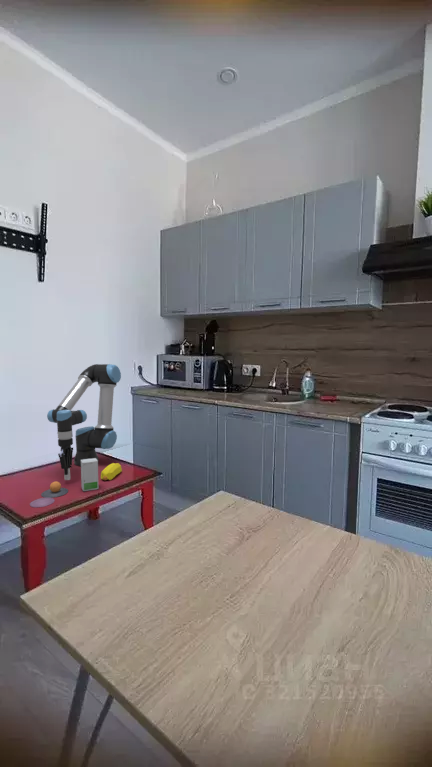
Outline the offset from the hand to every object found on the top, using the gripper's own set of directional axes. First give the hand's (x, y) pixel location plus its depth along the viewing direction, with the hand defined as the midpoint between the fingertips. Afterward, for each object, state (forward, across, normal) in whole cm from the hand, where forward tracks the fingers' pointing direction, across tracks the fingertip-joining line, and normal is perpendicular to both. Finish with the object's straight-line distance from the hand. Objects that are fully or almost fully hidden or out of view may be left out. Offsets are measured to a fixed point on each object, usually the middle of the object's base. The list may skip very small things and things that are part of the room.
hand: (67, 479), depth 206 cm
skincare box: (+2, +7, +16) cm, 18 cm away
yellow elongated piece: (+2, -12, +21) cm, 24 cm away
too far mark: (+2, +26, 0) cm, 26 cm away
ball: (-1, +13, 0) cm, 13 cm away
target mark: (+2, +14, 0) cm, 14 cm away
